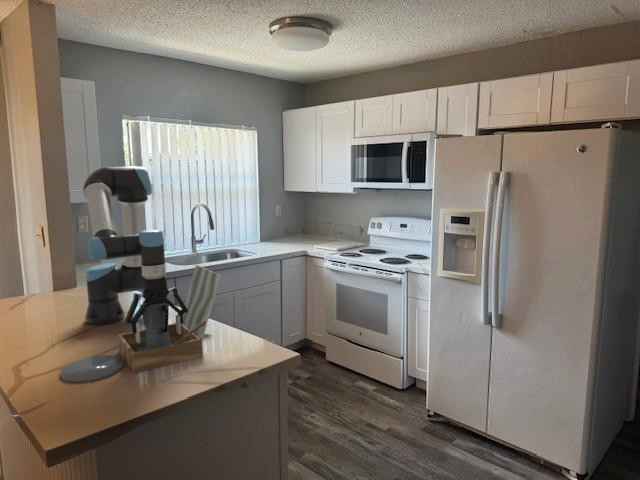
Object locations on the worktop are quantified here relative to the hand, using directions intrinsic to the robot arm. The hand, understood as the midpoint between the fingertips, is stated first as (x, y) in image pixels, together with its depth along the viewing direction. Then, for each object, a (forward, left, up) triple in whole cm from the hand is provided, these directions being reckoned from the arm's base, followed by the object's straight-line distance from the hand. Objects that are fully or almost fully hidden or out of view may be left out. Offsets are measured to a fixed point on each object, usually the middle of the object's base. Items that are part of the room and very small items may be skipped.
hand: (159, 337), depth 157 cm
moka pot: (0, 0, -6) cm, 6 cm away
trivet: (0, -21, -6) cm, 22 cm away
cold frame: (0, +4, -6) cm, 7 cm away
